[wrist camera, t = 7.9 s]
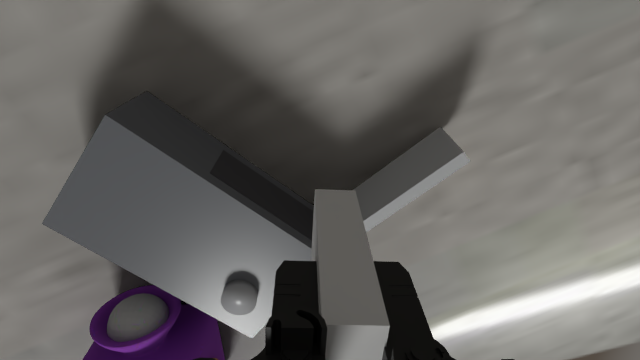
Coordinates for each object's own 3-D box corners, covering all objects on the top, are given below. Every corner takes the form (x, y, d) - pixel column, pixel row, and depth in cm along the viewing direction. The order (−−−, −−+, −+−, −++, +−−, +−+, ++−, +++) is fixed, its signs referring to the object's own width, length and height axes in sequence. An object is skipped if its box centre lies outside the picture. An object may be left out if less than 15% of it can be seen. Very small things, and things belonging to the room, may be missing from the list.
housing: (90, 182, 31) (33, 230, 24) (146, 90, 28) (98, 118, 21) (276, 293, 35) (268, 356, 29) (342, 224, 32) (347, 278, 26)
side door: (438, 124, 29) (464, 151, 24) (449, 139, 29) (477, 169, 24) (325, 206, 31) (327, 247, 26) (337, 219, 32) (341, 261, 27)
